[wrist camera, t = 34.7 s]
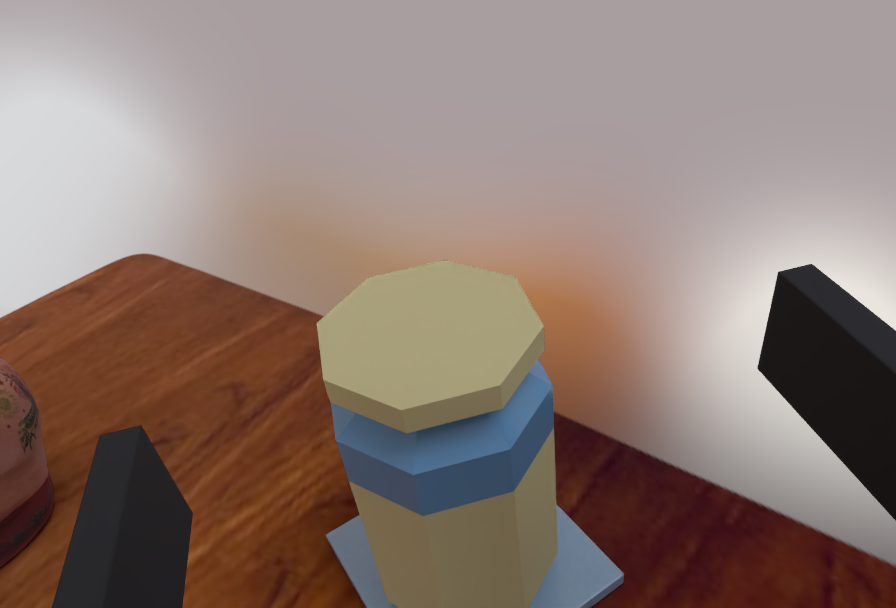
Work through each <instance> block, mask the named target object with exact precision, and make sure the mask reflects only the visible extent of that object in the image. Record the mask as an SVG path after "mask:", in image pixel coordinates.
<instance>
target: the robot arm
mask: <svg viewBox="0 0 896 608" xmlns="http://www.w3.org/2000/svg"><path fill="white" fill-rule="evenodd" d="M758 370H759V371H760V372H761V373H762V374H763V375H764V376H765V377H766V378H767V380H768V381H769V382H770V383H771V384H772V385H773V386H774V387H775V388H776V389H777V391H778V392H779V393H780V394H781V395H782V396H783V397H784V398H785V399H786V400H787V402H788V403H789V404H790V405H791V406H792V407H793V408H794V409H795V410H796V411H797V413H798V414H799V415H800V416H801V417H802V418H803V419H804V420H805V421H806V422H807V424H808V425H809V426H810V427H811V428H812V429H813V430H814V431H815V432H816V433H817V434H818V436H819V437H820V438H821V439H822V440H823V441H824V442H825V443H826V444H827V446H829V448H830V449H831V450H832V451H833V452H834V453H835V454H836V455H837V457H838V458H839V459H840V460H841V461H842V462H843V463H844V464H845V465H846V466H847V467H848V469H849V470H850V471H851V472H852V473H853V474H854V475H855V476H856V477H857V478H858V480H859V481H860V482H861V483H862V484H863V485H864V486H865V487H866V488H867V490H868V491H869V492H870V493H871V494H872V495H873V496H874V497H875V498H876V499H877V501H878V502H879V503H880V504H881V505H882V506H883V507H884V508H885V509H886V510H887V512H888V513H889V514H890V515H891V516H892V517H893V518H894V519H895V520H896V331H895V330H894V329H893V328H891V327H890V326H889V325H888V324H886V323H885V322H884V321H882V320H881V319H880V318H879V317H878V316H876V315H875V314H874V313H873V312H871V311H870V310H869V309H867V308H866V307H865V306H864V305H863V304H861V303H860V302H858V300H856V299H855V298H854V297H853V296H851V295H850V294H849V293H848V292H846V291H845V290H844V289H842V288H841V287H840V286H839V285H837V284H836V283H835V282H834V281H832V280H831V279H830V278H829V277H827V276H826V275H825V274H824V273H822V272H821V271H820V270H819V269H817V268H816V267H815V266H814V265H812V264H809V265H805V266H801V267H797V268H793V269H789V270H784V271H780V272H778V276H777V281H776V285H775V290H774V294H773V299H772V304H771V309H770V313H769V317H768V322H767V327H766V331H765V336H764V341H763V345H762V350H761V355H760V359H759V364H758ZM192 515H193V513H192V511H191V509H190V508H189V506H188V504H187V503H186V501H185V499H184V497H183V496H182V494H181V492H180V491H179V489H178V487H177V486H176V484H175V482H174V480H173V479H172V477H171V475H170V474H169V472H168V470H167V468H166V467H165V465H164V463H163V462H162V460H161V458H160V456H159V455H158V453H157V451H156V450H155V448H154V446H153V444H152V443H151V441H150V439H149V438H148V436H147V434H146V432H145V431H144V429H143V427H142V426H141V425H140V426H136V427H132V428H128V429H124V430H120V431H116V432H111V433H107V434H103V435H100V437H99V440H98V444H97V448H96V451H95V455H94V458H93V462H92V466H91V469H90V473H89V476H88V480H87V483H86V487H85V491H84V494H83V498H82V501H81V505H80V509H79V512H78V516H77V519H76V523H75V527H74V530H73V534H72V537H71V541H70V545H69V548H68V552H67V555H66V559H65V563H64V566H63V570H62V573H61V577H60V581H59V584H58V588H57V591H56V595H55V599H54V602H53V606H52V608H182V605H183V596H184V587H185V578H186V569H187V560H188V551H189V542H190V533H191V524H192Z"/></svg>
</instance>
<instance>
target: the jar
mask: <svg viewBox="0 0 896 608" xmlns="http://www.w3.org/2000/svg"><path fill="white" fill-rule="evenodd" d="M317 330H318V338H319V347H320V355H321V363H322V372H323V380H324V383H325V386H326V390H327V393H328V396H329V399H330V402H331V407H332V415H333V423H334V431H335V438H336V443H337V446H338V449H339V452H340V455H341V458H342V461H343V464H344V468H345V471H346V474H347V477H348V480H349V483H350V486H351V489H352V492H353V495H354V498H355V501H356V504H357V508H358V511H359V514H360V517H361V520H362V523H363V526H364V529H365V532H366V535H367V538H368V541H369V545H370V548H371V551H372V554H373V557H374V560H375V563H376V566H377V569H378V572H379V575H380V578H381V581H382V585H383V588H384V591H385V594H386V597H387V600H388V601H389V602H391V603H392V604H394V605H396V606H398V607H399V608H529V607H530V605H531V603H532V601H533V599H534V597H535V595H536V593H537V591H538V589H539V587H540V586H541V584H542V582H543V580H544V578H545V576H546V574H547V572H548V570H549V568H550V566H551V564H552V562H553V561H554V559H555V557H556V555H557V553H558V545H557V513H556V480H555V447H554V414H553V385H552V383H551V382H550V380H549V378H548V376H547V374H546V372H545V370H544V368H543V366H542V365H541V363H540V361H539V359H538V358H539V357H540V355H541V354H542V353H543V351H544V350H545V342H544V326H543V324H542V322H541V321H540V319H539V317H538V315H537V313H536V312H535V311H534V308H533V307H532V305H531V303H530V301H529V300H528V298H527V296H526V295H525V293H524V291H523V289H522V287H521V286H520V284H519V282H518V280H517V279H516V277H513V276H509V275H505V274H501V273H497V272H493V271H489V270H485V269H481V268H477V267H473V266H469V265H464V264H460V263H456V262H452V261H448V260H443V261H438V262H434V263H430V264H425V265H421V266H416V267H412V268H407V269H403V270H399V271H395V272H390V273H386V274H381V275H377V276H372V277H369V278H367V279H366V280H365V281H364V282H363V283H362V284H360V286H358V287H357V288H356V289H355V290H354V291H353V292H351V293H350V294H349V295H348V296H347V297H346V298H345V299H344V300H342V301H341V302H340V303H339V304H338V305H337V306H336V307H335V308H334V309H332V310H331V311H330V312H329V313H328V314H327V315H326V316H325V317H323V318H322V319H321V320H320V321H319V322H318V323H317Z"/></svg>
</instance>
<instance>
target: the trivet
mask: <svg viewBox="0 0 896 608" xmlns="http://www.w3.org/2000/svg"><path fill="white" fill-rule="evenodd" d="M556 513H557V545H558V553H557V555H556V557H555V559H554V561H553V562H552V564H551V566H550V568H549V570H548V572H547V574H546V576H545V578H544V580H543V582H542V584H541V586H540V587H539V589H538V591H537V593H536V595H535V597H534V599H533V601H532V603H531V605H530V607H529V608H591V607H592V606H593V605H595V604H596V603H597V602H599V601H600V600H601V599H602V598H604V597H605V596H606V595H608V594H609V593H610V592H612V591H613V590H614V589H616V588H617V587H618V586H620V585H621V584H622V583H623V582H624V573H623V572H622V571H621V570H620V569H619V568H618V567H617V566H616V565H615V564H614V563H613V562H612V561H611V560H610V559H609V558H608V557H607V556H606V555H605V554H604V553H603V552H602V551H601V550H600V549H599V548H598V547H597V546H596V545H595V543H594V542H593V541H592V540H591V539H590V538H589V537H588V536H587V535H586V534H585V533H584V532H583V531H582V530H581V529H580V528H579V527H578V526H577V525H576V524H575V523H574V522H573V521H572V520H571V519H570V518H569V517H568V516H567V515H566V514H565V513H564V511H563V510H562V509H561V508H560V507H559V506H558V505H557V504H556ZM326 537H327V540H328V543H329V544H330V546H331V548H332V550H333V552H334V553H335V555H336V557H337V559H338V560H339V562H340V564H341V566H342V567H343V569H344V571H345V573H346V574H347V576H348V578H349V580H350V581H351V583H352V585H353V587H354V588H355V590H356V592H357V594H358V595H359V597H360V599H361V601H362V602H363V604H364V606H365V608H399V607H398V606H396V605H394V604H392V603H391V602H389V601H388V600H387V597H386V594H385V591H384V588H383V585H382V581H381V578H380V575H379V572H378V569H377V566H376V563H375V560H374V557H373V554H372V551H371V548H370V545H369V541H368V538H367V535H366V532H365V529H364V526H363V523H362V520H361V517H360V515H358V516H357V517H355V518H353V519H351V520H350V521H348V522H346V523H345V524H343V525H341V526H340V527H338V528H336V529H334V530H333V531H331V532H329V533H328V534H326Z"/></svg>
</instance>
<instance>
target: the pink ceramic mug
mask: <svg viewBox="0 0 896 608" xmlns="http://www.w3.org/2000/svg"><path fill="white" fill-rule="evenodd" d="M53 504H54V492H53V485H52V481H51V477H50V476H49V472H48V467H47V461H46V453H45V448H44V445H43V441H42V436H41V418H40V412H39V409H38V406H37V404H36V401H35V399H34V397H33V395H32V393H31V392H30V390H29V388H28V387H27V385H26V383H25V382H24V380H23V379H22V378H21V377H20V376H19V375H18V373H17V372H16V371H15V370H14V369H13V368H12V367H11V366H10V365H9V364H8V363H7V362H6V361H5V360H3V359H2V358H1V357H0V567H1V566H2V565H4V564H5V563H6V562H7V561H9V560H10V559H11V558H13V557H14V556H15V555H16V554H17V553H19V552H20V551H21V550H22V549H23V548H24V547H25V546H26V545H27V544H28V543H29V542H30V541H31V540H32V539H33V538H34V537H35V536H36V534H37V533H38V532H39V531H40V529H41V528H42V527H43V525H44V524H45V522H46V521H47V519H48V517H49V515H50V513H51V511H52V508H53Z"/></svg>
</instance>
